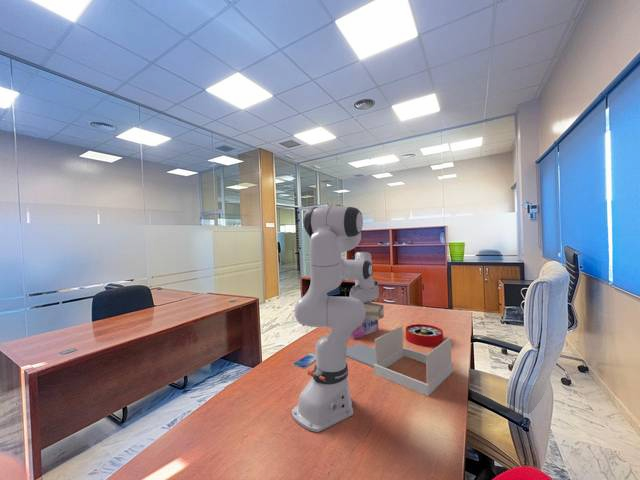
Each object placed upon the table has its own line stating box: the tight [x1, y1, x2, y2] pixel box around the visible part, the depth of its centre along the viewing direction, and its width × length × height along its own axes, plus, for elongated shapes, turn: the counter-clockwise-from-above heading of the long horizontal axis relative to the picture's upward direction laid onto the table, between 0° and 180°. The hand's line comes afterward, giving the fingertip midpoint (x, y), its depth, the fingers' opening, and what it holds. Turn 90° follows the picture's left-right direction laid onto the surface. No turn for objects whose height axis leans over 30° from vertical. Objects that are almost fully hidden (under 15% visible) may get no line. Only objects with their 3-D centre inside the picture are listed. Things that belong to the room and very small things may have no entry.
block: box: [363, 302, 385, 321], centre depth 134 cm, size 6×18×6 cm, turn 44°
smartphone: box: [292, 352, 316, 369], centre depth 131 cm, size 7×1×15 cm
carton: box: [373, 325, 454, 397], centre depth 116 cm, size 25×24×15 cm
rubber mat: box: [346, 342, 375, 368], centre depth 134 cm, size 16×24×1 cm, turn 44°
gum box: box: [349, 317, 379, 340], centre depth 165 cm, size 24×8×14 cm, turn 128°
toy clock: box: [405, 323, 444, 348], centre depth 152 cm, size 20×6×20 cm
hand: (364, 310), depth 134 cm, fingers closed on block, 5 cm apart
